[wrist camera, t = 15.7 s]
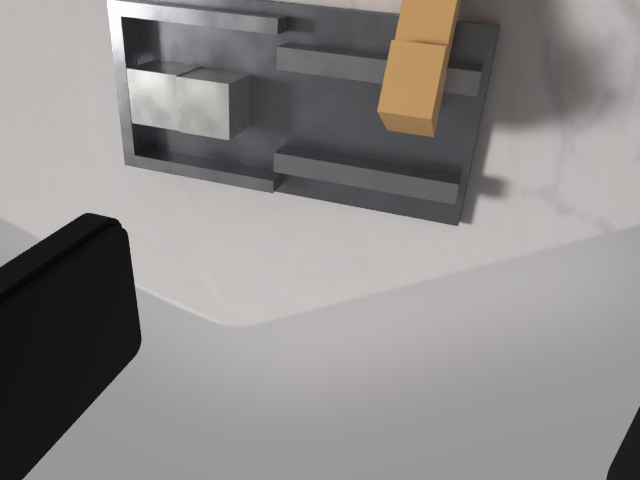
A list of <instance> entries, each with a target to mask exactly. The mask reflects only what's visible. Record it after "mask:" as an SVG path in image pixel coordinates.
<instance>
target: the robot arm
mask: <svg viewBox="0 0 640 480" xmlns="http://www.w3.org/2000/svg"><path fill="white" fill-rule="evenodd" d="M140 345H141V330H140V322H139V315H138V308H137V300H136V292H135V284H134V277H133V269H132V262H131V254H130V246H129V239H128V234H127V232H126V230H125V229H123V228H122V226H121V224H120V222H119V221H118V220H117V219H115V218H110V217H106V216H101V215H97V214H93V213H86V214H83V215H81V216H80V217H78V218H76V219H75V220H73V221H72V222H70V223H69V224H67V225H66V226H64V227H62V228H61V229H59V230H58V231H56V232H55V233H53V234H51V235H50V236H48V237H47V238H45V239H44V240H42V241H40V242H39V243H38V244H36V245H34V246H33V247H31V248H30V249H28V250H26V251H25V252H23V253H22V254H20V255H19V256H17V257H15V258H14V259H13V260H11V261H9V262H8V263H6V264H5V265H3V266H1V267H0V480H22V479H23V478H24V477H25V476H26V475H27V474H28V473H29V472H30V471H31V469H32V468H33V467H34V466H35V465H36V464H37V463H38V462H39V461H40V460H41V458H42V457H43V456H44V455H45V454H46V453H47V452H48V451H49V450H50V449H51V448H52V446H53V445H54V444H55V443H56V442H57V441H58V440H59V439H60V438H61V437H62V436H63V434H64V433H65V432H66V431H67V430H68V429H69V428H70V427H71V426H72V424H73V423H74V422H75V421H76V420H77V419H78V418H79V417H80V416H81V415H82V414H83V413H84V411H85V410H86V409H87V408H88V407H89V406H90V405H91V404H92V403H93V402H94V401H95V399H96V398H97V397H98V396H99V395H100V394H101V393H102V392H103V391H104V390H105V388H106V387H107V386H108V385H109V384H110V383H111V382H112V381H113V380H114V379H115V378H116V376H117V375H118V374H119V373H120V372H121V371H122V370H123V369H124V368H125V367H126V366H127V364H128V363H129V362H130V361H131V360H132V359H133V358H134V357H135V355H136V354H137V352H138V350H139V348H140ZM607 480H640V407H639V409H638V411H637V413H636V415H635V417H634V419H633V421H632V424H631V426H630V427H629V429H628V432H627V434H626V436H625V438H624V440H623V442H622V444H621V446H620V448H619V450H618V452H617V454H616V456H615V458H614V460H613V462H612V464H611V466H610V468H609V471H608V475H607Z"/></svg>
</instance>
